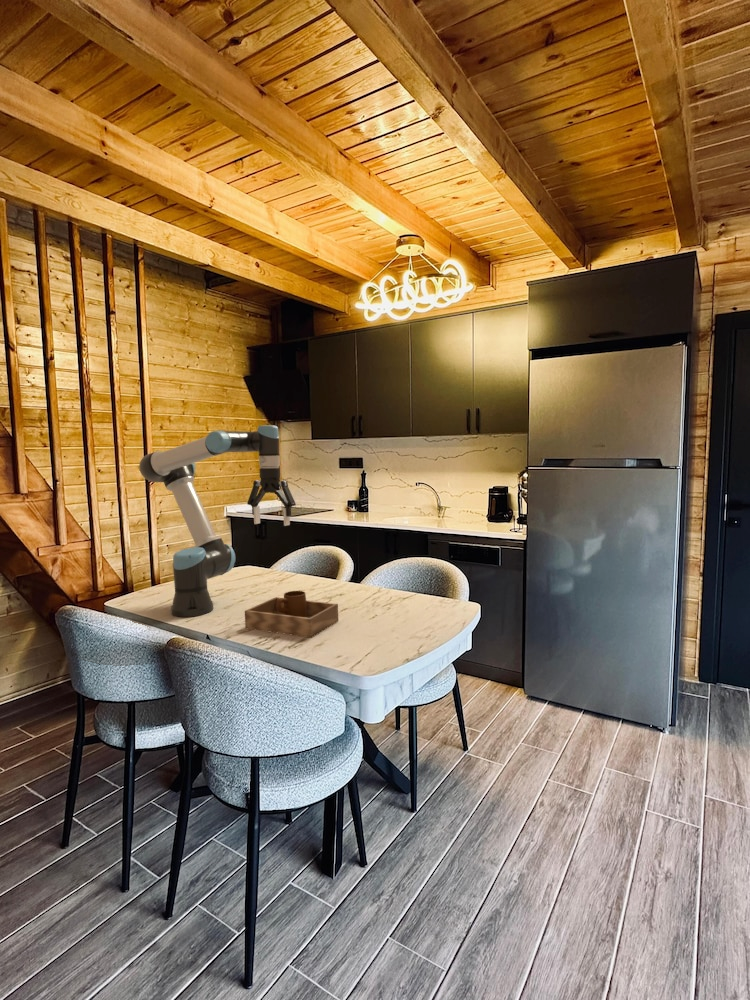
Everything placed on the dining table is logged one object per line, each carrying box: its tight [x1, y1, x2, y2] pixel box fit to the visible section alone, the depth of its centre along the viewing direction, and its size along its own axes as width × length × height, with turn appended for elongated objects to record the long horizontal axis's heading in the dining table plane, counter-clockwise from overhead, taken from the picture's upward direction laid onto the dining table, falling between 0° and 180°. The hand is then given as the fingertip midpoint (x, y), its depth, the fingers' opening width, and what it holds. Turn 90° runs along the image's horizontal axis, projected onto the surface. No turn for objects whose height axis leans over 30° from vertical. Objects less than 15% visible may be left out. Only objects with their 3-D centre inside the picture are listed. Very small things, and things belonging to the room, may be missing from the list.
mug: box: [276, 590, 307, 617], centre depth 185 cm, size 12×8×9 cm, turn 141°
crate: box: [244, 596, 339, 638], centre depth 185 cm, size 26×18×6 cm
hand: (271, 524), depth 201 cm, fingers open, 13 cm apart
